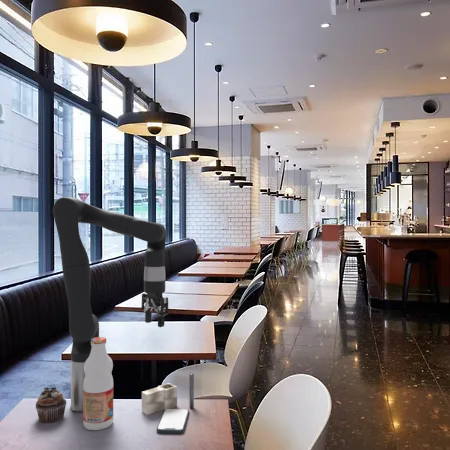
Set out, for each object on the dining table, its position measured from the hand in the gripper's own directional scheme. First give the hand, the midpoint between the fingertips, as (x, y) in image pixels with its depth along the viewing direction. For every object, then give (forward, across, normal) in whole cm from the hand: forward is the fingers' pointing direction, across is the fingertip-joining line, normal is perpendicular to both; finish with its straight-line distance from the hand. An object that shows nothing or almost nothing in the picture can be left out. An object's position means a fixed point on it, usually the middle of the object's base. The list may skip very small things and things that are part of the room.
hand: (154, 324), depth 149 cm
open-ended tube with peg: (+30, -1, -1) cm, 30 cm away
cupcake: (+30, +17, +30) cm, 46 cm away
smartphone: (+30, -13, 0) cm, 33 cm away
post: (+30, -8, -11) cm, 33 cm away
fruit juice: (+30, +2, +20) cm, 36 cm away
